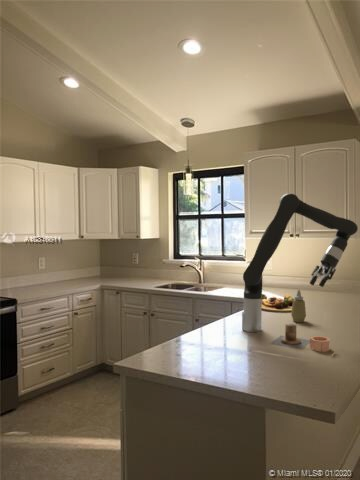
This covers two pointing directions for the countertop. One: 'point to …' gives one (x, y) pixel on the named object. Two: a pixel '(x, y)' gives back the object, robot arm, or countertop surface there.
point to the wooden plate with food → (277, 304)
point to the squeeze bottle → (298, 308)
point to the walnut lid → (290, 335)
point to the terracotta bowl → (320, 343)
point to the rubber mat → (299, 346)
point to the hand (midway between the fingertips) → (315, 285)
